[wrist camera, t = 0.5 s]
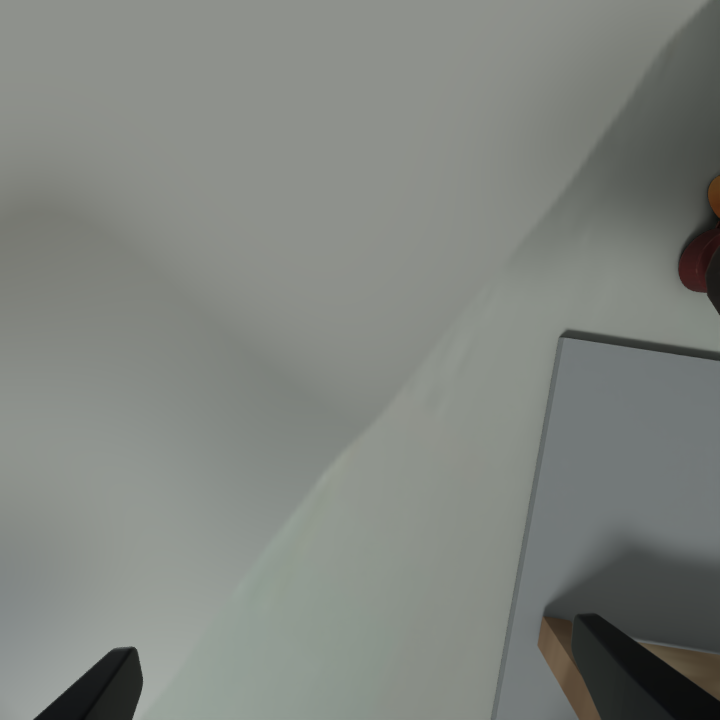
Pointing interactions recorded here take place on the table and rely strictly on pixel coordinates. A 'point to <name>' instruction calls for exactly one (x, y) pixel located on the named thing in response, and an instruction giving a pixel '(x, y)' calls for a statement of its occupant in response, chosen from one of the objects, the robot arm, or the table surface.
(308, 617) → the table surface
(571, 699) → the wooden bar with ends
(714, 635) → the gate base
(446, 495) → the table surface
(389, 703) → the table surface
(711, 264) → the binoculars
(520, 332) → the table surface
